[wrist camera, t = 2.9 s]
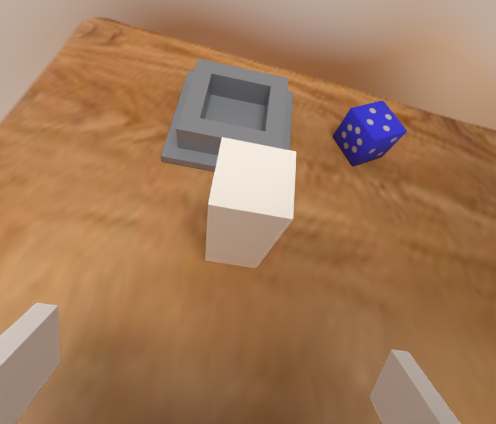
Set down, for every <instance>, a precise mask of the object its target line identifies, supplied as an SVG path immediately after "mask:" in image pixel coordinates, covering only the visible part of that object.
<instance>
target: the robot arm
mask: <svg viewBox="0 0 496 424" xmlns="http://www.w3.org/2000/svg"><path fill="white" fill-rule="evenodd" d="M59 363H60V340H59V313H58V306H57V305H50V304H42V303H36V304H34V305H33V306H32V307H31V308H30V309H29V310H28V311H27V312H26V313H25V314H24V315H22V316H21V317H20V318H19V319H18V320H17V321H16V322H15V323H14V324H13V325H11V326H10V327H9V328H8V329H7V330H6V331H5V332H4V333H3V334H2V335H1V336H0V424H16V422H17V421H18V420H19V418H20V417H21V415H22V414H23V413H24V411H25V410H26V409H27V407H28V406H29V405H30V403H31V402H32V400H33V399H34V398H35V396H36V395H37V394H38V392H39V391H40V389H41V388H42V387H43V385H44V384H45V383H46V381H47V380H48V379H49V377H50V376H51V374H52V373H53V372H54V370H55V369H56V368H57V366H58V365H59ZM369 398H370V400H371V402H372V404H373V406H374V409H375V411H376V413H377V415H378V417H379V419H380V421H381V424H461V423H460V422H459V421H458V419H457V418H456V416H455V415H454V414H453V412H452V411H451V410H450V408H449V407H448V405H447V404H446V403H445V401H444V400H443V399H442V397H441V396H440V394H439V393H438V392H437V390H436V389H435V387H434V386H433V385H432V383H431V382H430V381H429V379H428V378H427V376H426V375H425V374H424V372H423V371H422V370H421V368H420V367H419V365H418V364H417V363H416V361H415V360H414V359H413V357H412V356H411V354H410V353H409V352H408V351H400V350H393V349H391V351H390V353H389V355H388V357H387V360H386V362H385V364H384V366H383V368H382V370H381V373H380V375H379V377H378V379H377V381H376V384H375V386H374V388H373V390H372V392H371V395H370V397H369Z"/></svg>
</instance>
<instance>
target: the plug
mask: <svg viewBox="0 0 496 424" xmlns="http://www.w3.org/2000/svg"><path fill="white" fill-rule="evenodd" d="M295 169H296V152H295V151H290V150H285V149H280V148H275V147H270V146H265V145H260V144H255V143H250V142H245V141H240V140H235V139H230V138H224V137H222V139H221V144H220V149H219V153H218V158H217V163H216V168H215V173H214V178H213V183H212V187H211V192H210V197H209V202H208V214H207V233H206V253H205V261H210V262H216V263H223V264H229V265H236V266H242V267H248V268H255V269H256V268H257V267H258V265H259V264H260V263H261V261H262V260H263V259H264V257H265V256H266V255H267V254H268V252H269V251H270V250H271V248H272V247H273V246H274V244H275V243H276V242H277V240H278V239H279V238H280V236H281V235H282V234H283V232H284V231H285V230H286V228H287V227H288V226H289V224H290V223H291V222H292V220H293V211H294V190H295Z"/></svg>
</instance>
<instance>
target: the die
mask: <svg viewBox="0 0 496 424" xmlns="http://www.w3.org/2000/svg"><path fill="white" fill-rule="evenodd" d="M406 131H407V130H406V129H405V128H404V126H403V125H402V124H401V123H400V121H399V120H398V119H397V118H396V116H395V115H394V114H393V113H392V111H391V110H390V109H389V108H388V106H387V105H386V104H385V102H384V101H379V102H374V103H370V104H366V105H362V106H358V107H354V108H351V109H350V110H349V112H348V113H347V115H346V117H345V118H344V120H343V121H342V123H341V124H340V126H339V127H338V129H337V131H336V132H335V134H334V135H333V138H334V139H335V141H336V142H337V144H338V145H339V147H340V148H341V150H342V151H343V153H344V154H345V156H346V157H347V159H348V160H349V162H350V163H351V165H352V166H355V165H359V164H362V163H365V162H368V161H371V160H374V159H377V158H380V157H382V156H383V155H384V154H385V153H386V152H387V151H388V150H389V149H390V148H391V147H392V146H393V145H394V144H395V143H396V142H397V141H398V140H399V139H400V138H401V137H402V136H403V135H404V134H405V133H406Z"/></svg>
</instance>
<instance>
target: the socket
mask: <svg viewBox="0 0 496 424" xmlns="http://www.w3.org/2000/svg"><path fill="white" fill-rule="evenodd" d="M287 85H288V78H284V77H279V76H275V75H270V74H266V73H261V72H257V71H252V70H247V69H243V68H238V67H234V66H229V65H225V64H220V63H216V62H211V61H207V60H202V59H197V62H196V66H195V69H194V71H191V70H189V71H188V74H187V77H186V80H185V83H184V86H183V89H182V92H181V95H180V99H179V102H178V105H177V108H176V111H175V114H174V117H173V120H172V123H171V127H170V130H169V133H168V136H167V139H166V142H165V145H164V148H163V151H162V155H161V159H162V162H167V163H172V164H177V165H183V166H188V167H194V168H199V169H204V170H210V171H215V168H216V163H217V158H218V153H219V149H220V144H221V139H222V137H224V138H230V139H235V140H240V141H245V142H250V143H255V144H260V145H265V146H270V147H275V148H280V149H285V150H290V134H291V118H292V102H293V92H288V91H287Z"/></svg>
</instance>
